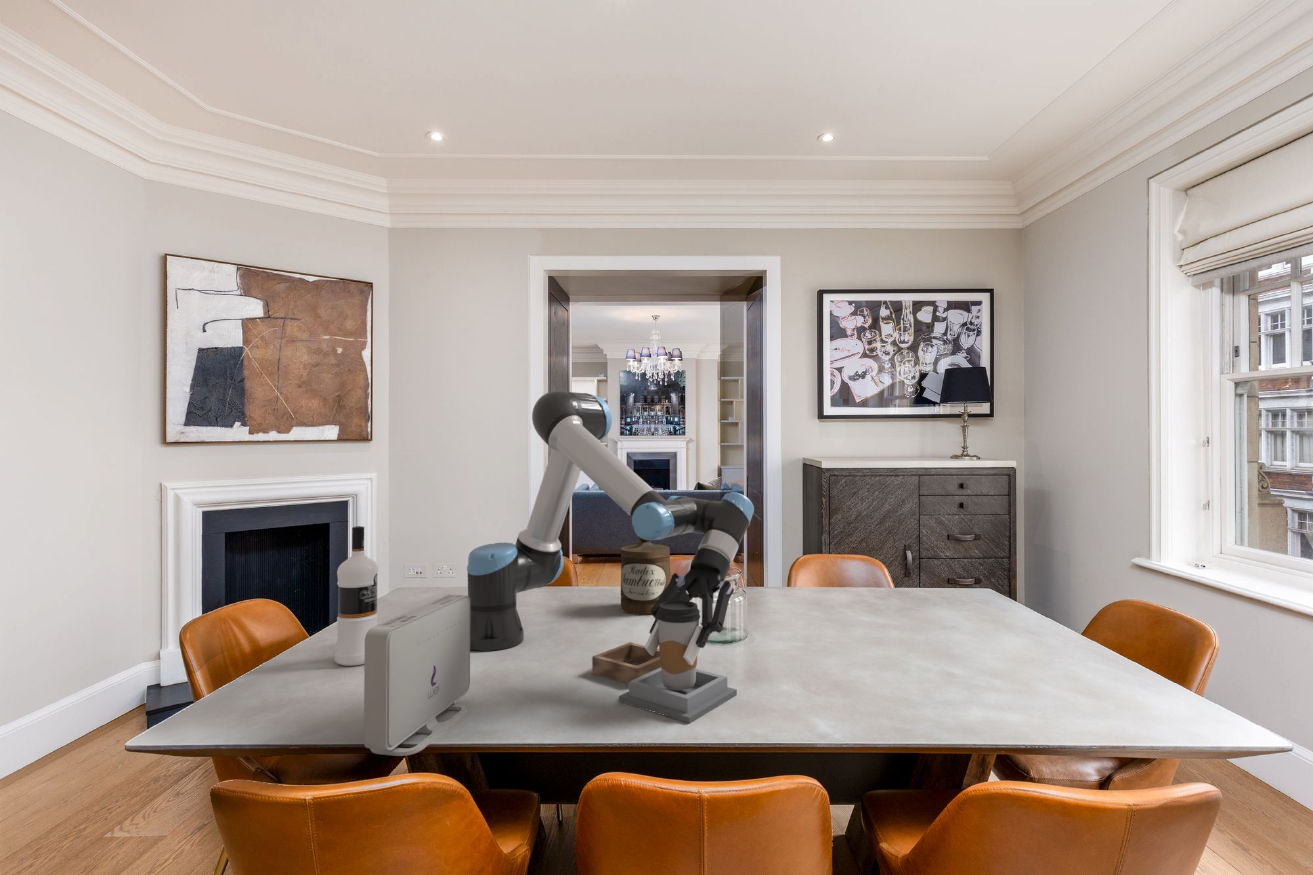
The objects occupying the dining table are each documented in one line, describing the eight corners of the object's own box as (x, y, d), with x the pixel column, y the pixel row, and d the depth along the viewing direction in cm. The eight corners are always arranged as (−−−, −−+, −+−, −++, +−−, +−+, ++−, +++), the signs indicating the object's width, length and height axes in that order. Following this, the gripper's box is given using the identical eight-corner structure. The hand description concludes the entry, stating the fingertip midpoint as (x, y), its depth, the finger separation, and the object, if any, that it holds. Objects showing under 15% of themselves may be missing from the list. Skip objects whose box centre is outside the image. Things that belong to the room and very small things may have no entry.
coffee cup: (705, 679, 123) (705, 601, 123) (693, 695, 115) (693, 612, 115) (664, 674, 125) (664, 598, 126) (650, 689, 118) (650, 608, 118)
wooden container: (615, 614, 181) (615, 537, 182) (626, 602, 196) (626, 530, 196) (666, 616, 179) (666, 538, 179) (674, 603, 194) (673, 531, 194)
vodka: (345, 653, 147) (346, 524, 147) (386, 653, 147) (387, 523, 148) (326, 667, 137) (327, 529, 138) (369, 667, 138) (370, 528, 138)
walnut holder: (592, 673, 133) (592, 656, 133) (630, 657, 143) (630, 642, 143) (637, 686, 126) (637, 668, 126) (674, 669, 136) (674, 652, 136)
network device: (399, 768, 94) (400, 632, 94) (347, 762, 96) (348, 629, 96) (481, 701, 119) (481, 594, 119) (438, 697, 121) (439, 592, 121)
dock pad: (619, 701, 119) (618, 682, 119) (669, 676, 131) (669, 659, 131) (689, 723, 109) (689, 702, 109) (736, 694, 122) (736, 676, 122)
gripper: (766, 574, 126) (724, 678, 113) (679, 563, 139) (633, 655, 126) (752, 551, 122) (707, 656, 109) (665, 541, 135) (615, 635, 122)
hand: (668, 656), depth 118 cm, fingers closed on coffee cup, 8 cm apart
